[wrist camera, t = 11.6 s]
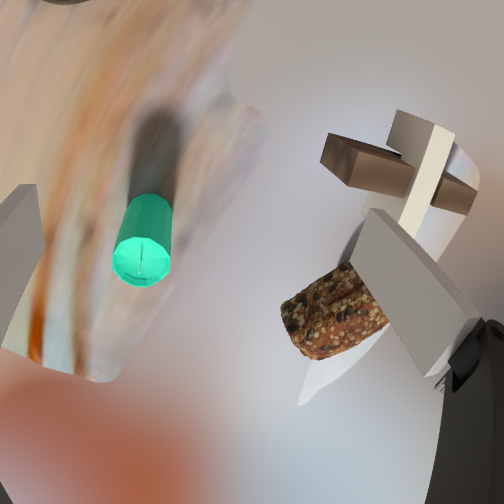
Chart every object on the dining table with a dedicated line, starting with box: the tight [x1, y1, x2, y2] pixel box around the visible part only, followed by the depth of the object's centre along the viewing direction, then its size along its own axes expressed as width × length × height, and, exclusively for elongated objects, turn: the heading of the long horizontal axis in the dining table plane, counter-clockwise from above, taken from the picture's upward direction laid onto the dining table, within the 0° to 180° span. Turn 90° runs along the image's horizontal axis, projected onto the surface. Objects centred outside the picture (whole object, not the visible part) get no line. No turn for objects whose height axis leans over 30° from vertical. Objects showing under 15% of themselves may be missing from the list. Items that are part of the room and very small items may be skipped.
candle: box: [112, 193, 173, 287], centre depth 34 cm, size 6×6×12 cm
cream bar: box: [362, 110, 455, 239], centre depth 38 cm, size 16×4×8 cm, turn 167°
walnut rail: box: [320, 133, 477, 216], centre depth 38 cm, size 4×22×8 cm, turn 78°
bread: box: [280, 260, 389, 360], centre depth 49 cm, size 19×11×10 cm, turn 123°
